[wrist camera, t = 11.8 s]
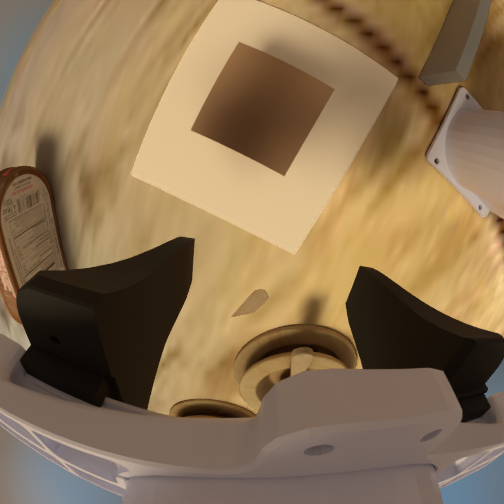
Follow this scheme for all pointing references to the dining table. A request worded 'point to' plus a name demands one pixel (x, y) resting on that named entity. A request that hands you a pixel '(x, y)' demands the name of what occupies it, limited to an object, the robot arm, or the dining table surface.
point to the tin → (26, 231)
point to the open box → (456, 43)
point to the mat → (241, 167)
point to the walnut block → (262, 108)
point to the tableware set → (272, 363)
